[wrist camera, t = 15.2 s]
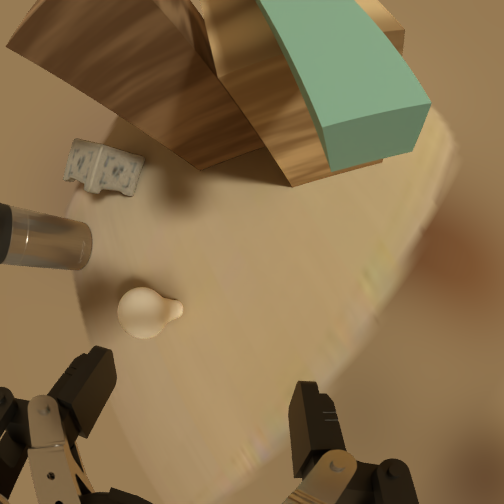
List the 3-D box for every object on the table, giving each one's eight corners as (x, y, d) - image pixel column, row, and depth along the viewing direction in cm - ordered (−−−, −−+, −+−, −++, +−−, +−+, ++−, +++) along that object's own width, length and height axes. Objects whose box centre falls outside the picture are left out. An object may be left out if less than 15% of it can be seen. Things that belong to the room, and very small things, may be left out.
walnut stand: (265, 146, 37) (104, -49, 7) (200, 170, 40) (5, 46, 10) (247, 85, 39) (127, -74, 9) (190, 109, 42) (48, -13, 12)
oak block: (382, 162, 32) (404, 29, 11) (292, 187, 35) (217, 77, 14) (343, 80, 34) (320, -47, 13) (266, 103, 38) (197, -11, 17)
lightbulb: (182, 338, 38) (129, 353, 28) (154, 309, 40) (100, 315, 30) (205, 306, 37) (154, 314, 27) (176, 277, 39) (121, 275, 29)
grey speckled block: (99, 192, 47) (56, 177, 37) (117, 151, 47) (77, 130, 37) (131, 206, 44) (83, 191, 34) (151, 160, 43) (107, 135, 33)
